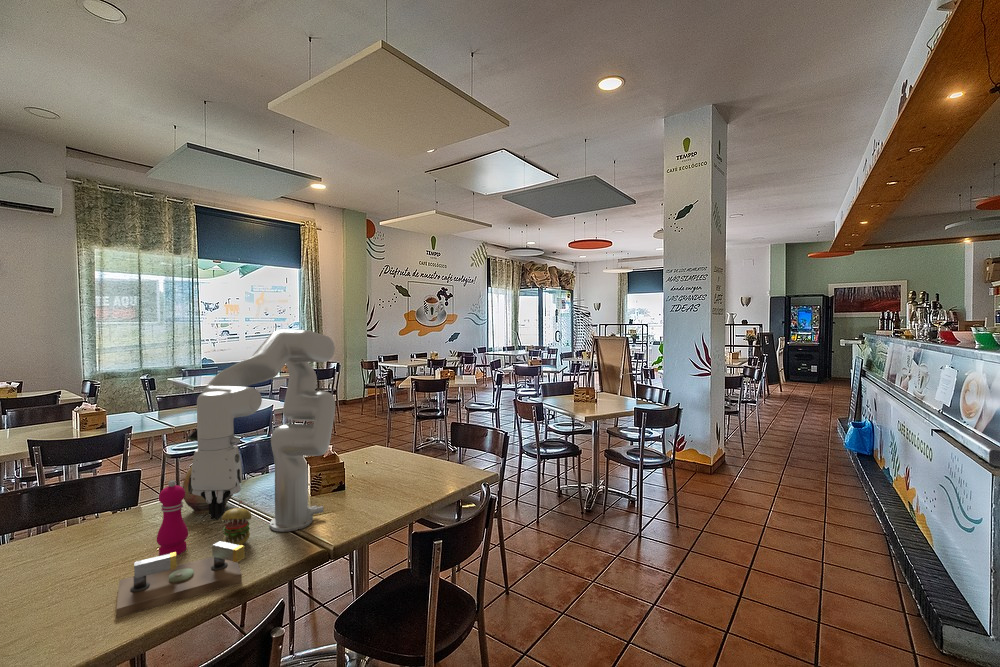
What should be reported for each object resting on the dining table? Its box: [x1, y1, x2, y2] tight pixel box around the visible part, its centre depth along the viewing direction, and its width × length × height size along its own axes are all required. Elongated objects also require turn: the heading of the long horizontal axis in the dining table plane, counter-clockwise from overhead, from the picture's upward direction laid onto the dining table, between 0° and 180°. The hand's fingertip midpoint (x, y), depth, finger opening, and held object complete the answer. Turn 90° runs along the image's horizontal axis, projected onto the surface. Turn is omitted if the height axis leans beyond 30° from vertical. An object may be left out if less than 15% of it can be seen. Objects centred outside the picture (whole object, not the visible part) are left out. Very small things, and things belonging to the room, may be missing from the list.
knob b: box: [132, 552, 178, 589], centre depth 112 cm, size 8×2×6 cm, turn 127°
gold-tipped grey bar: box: [211, 540, 245, 567], centre depth 119 cm, size 8×2×6 cm, turn 71°
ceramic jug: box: [182, 428, 234, 516], centre depth 160 cm, size 17×15×30 cm
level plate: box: [116, 556, 243, 619], centre depth 115 cm, size 24×14×3 cm, turn 127°
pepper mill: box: [156, 480, 189, 556], centre depth 131 cm, size 7×7×20 cm
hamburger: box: [220, 499, 252, 546], centre depth 136 cm, size 8×7×12 cm
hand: (217, 517), depth 115 cm, fingers closed
